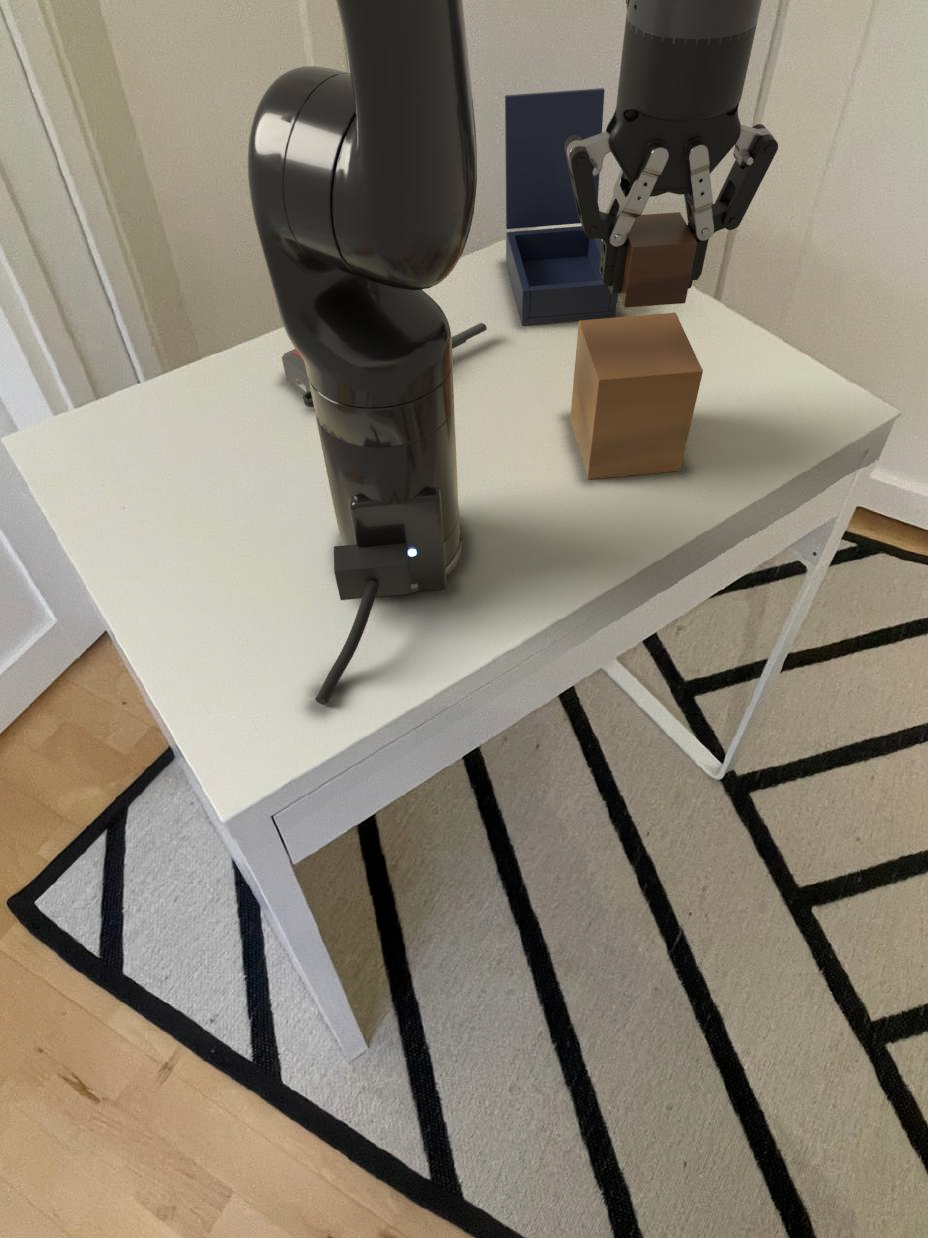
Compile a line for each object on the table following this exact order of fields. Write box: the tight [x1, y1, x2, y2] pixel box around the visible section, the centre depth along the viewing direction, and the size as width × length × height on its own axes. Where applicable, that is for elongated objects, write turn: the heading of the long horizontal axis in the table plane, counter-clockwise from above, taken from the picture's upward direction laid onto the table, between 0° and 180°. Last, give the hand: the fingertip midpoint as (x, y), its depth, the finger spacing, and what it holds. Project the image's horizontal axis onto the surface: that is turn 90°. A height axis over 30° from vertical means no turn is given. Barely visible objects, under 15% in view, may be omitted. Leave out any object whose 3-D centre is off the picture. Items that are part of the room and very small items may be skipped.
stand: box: [569, 312, 704, 480], centre depth 71 cm, size 8×8×10 cm
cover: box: [504, 87, 606, 230], centre depth 88 cm, size 12×10×5 cm
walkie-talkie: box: [281, 322, 488, 408], centre depth 81 cm, size 9×4×20 cm
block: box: [618, 211, 697, 309], centre depth 61 cm, size 4×4×4 cm
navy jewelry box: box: [505, 225, 619, 326], centre depth 89 cm, size 12×10×4 cm
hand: (648, 284), depth 63 cm, fingers closed on block, 4 cm apart
